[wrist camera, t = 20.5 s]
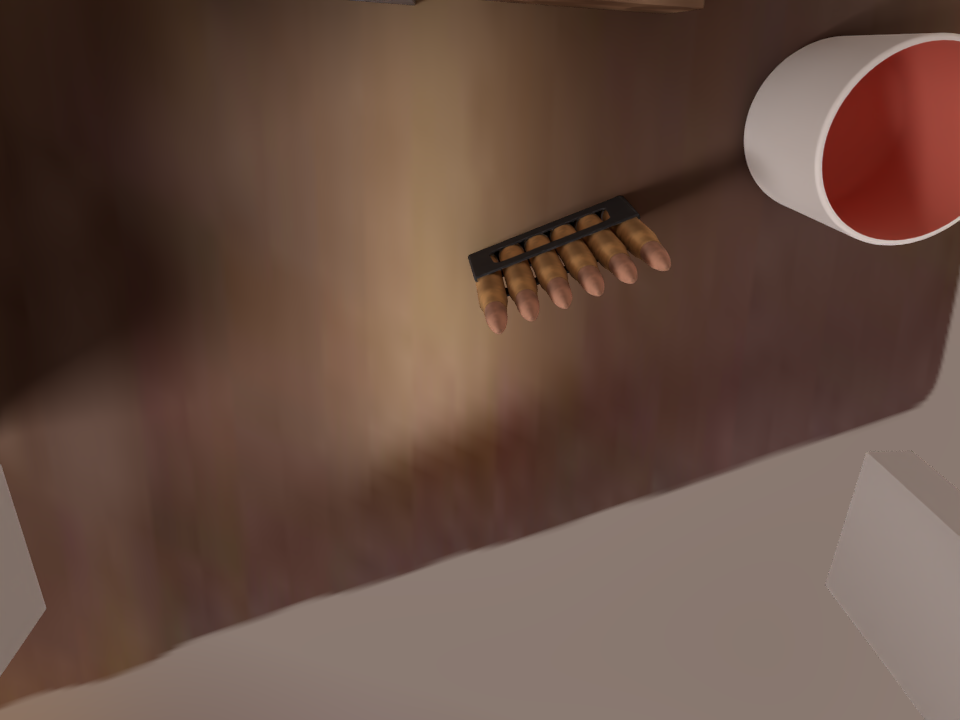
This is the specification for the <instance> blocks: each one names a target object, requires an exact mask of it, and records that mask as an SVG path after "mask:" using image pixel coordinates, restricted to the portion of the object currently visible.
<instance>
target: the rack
mask: <svg viewBox="0 0 960 720" xmlns="http://www.w3.org/2000/svg"><path fill="white" fill-rule="evenodd" d="M486 1H500V2H513V3H527V4H540V5H553V6H567V7H580V8H593V9H607V10H620V11H633V12H647V13H660V14H671V13H677V12H684V11H690V10H697V9H703V8H704V2H705V0H486Z"/></svg>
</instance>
